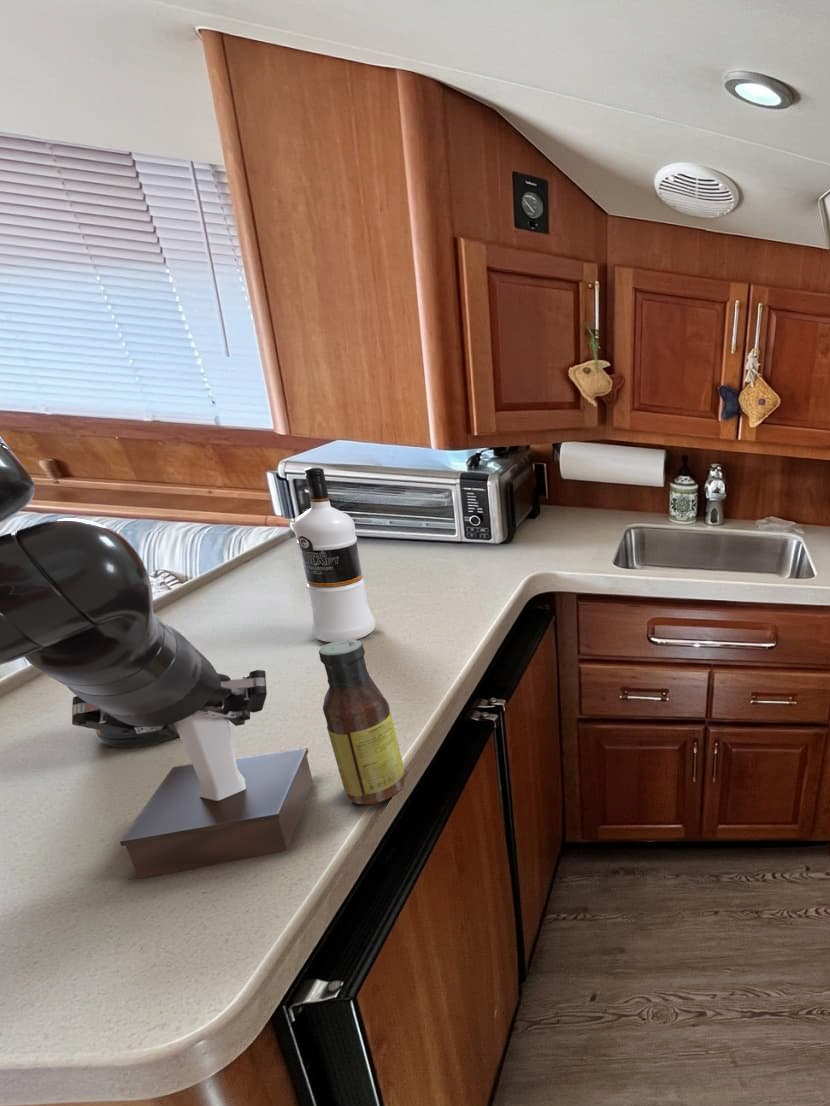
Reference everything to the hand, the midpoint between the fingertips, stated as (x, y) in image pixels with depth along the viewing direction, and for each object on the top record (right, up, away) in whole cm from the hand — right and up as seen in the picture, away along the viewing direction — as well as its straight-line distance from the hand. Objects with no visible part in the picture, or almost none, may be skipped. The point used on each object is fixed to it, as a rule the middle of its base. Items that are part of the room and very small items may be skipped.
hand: (208, 721), depth 67 cm
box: (0, -12, +3) cm, 13 cm away
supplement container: (-24, -5, +18) cm, 30 cm away
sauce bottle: (+11, -11, +10) cm, 18 cm away
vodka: (-20, +7, +48) cm, 52 cm away
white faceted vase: (0, -8, +1) cm, 8 cm away
